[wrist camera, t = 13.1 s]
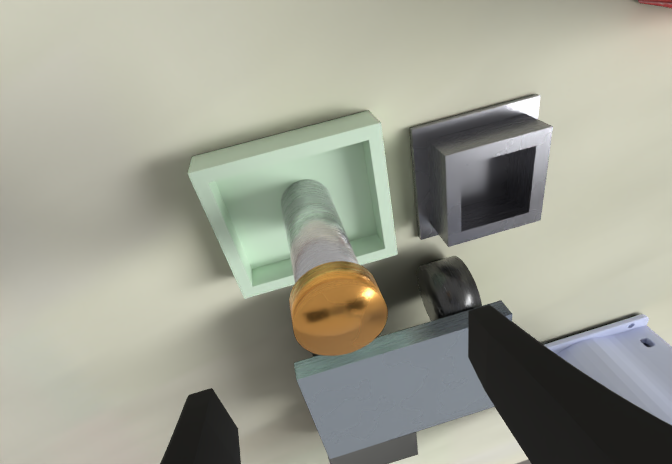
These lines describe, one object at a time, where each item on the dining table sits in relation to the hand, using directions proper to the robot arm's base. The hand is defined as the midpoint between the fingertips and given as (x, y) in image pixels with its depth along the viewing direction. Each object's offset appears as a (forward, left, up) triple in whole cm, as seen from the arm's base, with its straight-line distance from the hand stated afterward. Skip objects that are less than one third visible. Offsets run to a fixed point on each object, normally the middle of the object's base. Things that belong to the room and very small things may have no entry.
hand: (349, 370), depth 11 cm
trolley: (-3, +10, -10) cm, 15 cm away
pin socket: (-9, +1, -10) cm, 14 cm away
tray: (0, 0, -10) cm, 10 cm away
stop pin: (0, 0, -10) cm, 10 cm away
